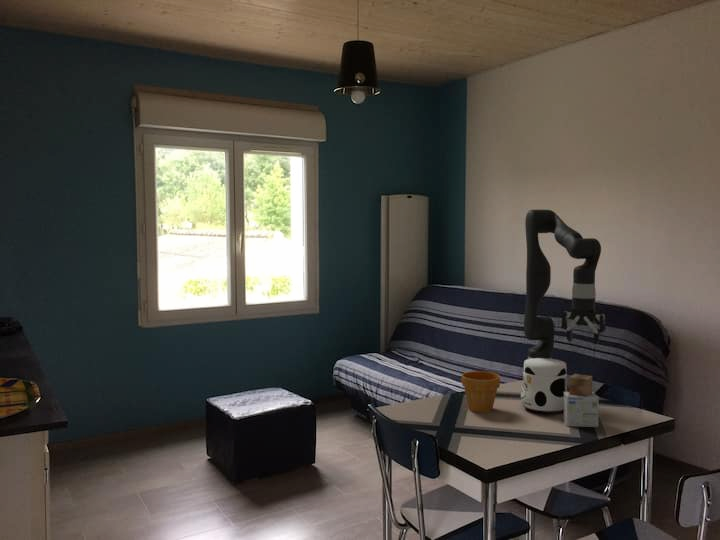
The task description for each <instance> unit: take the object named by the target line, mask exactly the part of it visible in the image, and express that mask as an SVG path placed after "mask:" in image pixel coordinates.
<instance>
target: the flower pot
mask: <svg viewBox="0 0 720 540" xmlns="http://www.w3.org/2000/svg"><path fill="white" fill-rule="evenodd" d="M461 385H462V387H463V388H464V392H465V399H466V402H467V407H468V410H469V411H472V412H475V413H489V412H492V411H493V409H494V405H495V400H496V396H497V392H498V391H497V390H498V389H500V385H501V376H500V374H497V373H495V372H490V371H481V370H480V371H478V370H476V371H474V370H473V371H467V372H464V373H462V374H461Z"/></svg>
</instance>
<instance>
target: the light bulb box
mask: <svg viewBox="0 0 720 540" xmlns="http://www.w3.org/2000/svg"><path fill="white" fill-rule="evenodd" d="M599 399H600V398H599V396H598V395H597V394H596V393H595V392H594V391H592V393H591V394H590V395H589V396H588V397H584V396H577V395H571V394H569V391H568V392H564V411H563V422H564V423H565V425H566V427H579V428H581V427H583V428H584V427H585V428H599V409H600V408H599Z"/></svg>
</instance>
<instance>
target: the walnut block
mask: <svg viewBox="0 0 720 540" xmlns="http://www.w3.org/2000/svg"><path fill="white" fill-rule="evenodd" d="M568 379H569V381H568V382H569V384H568V385H569V389H568V392H569V394H571V395H577V396H584V397H588V396H589V395H590V394H591V393H592V392H593V375H586V374H579V373H574V374H572V375H570V376H569V378H568Z"/></svg>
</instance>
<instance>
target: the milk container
mask: <svg viewBox="0 0 720 540" xmlns="http://www.w3.org/2000/svg"><path fill="white" fill-rule="evenodd" d="M567 369H568V368H567V362H565V361H562V360H560V359H555V358H552V359H547V358H533V359H528V358H527V359H525V360H524V361H523V372H522V373H523V377H522V378H523V380H522V381H523V383H522V387H521V390H520V391H521V392H520V400H521V401H520V402H521V405H522V406H523V407H524V408H525V409H527V410H529V411H531V412H537V413H540V414H541V413H543V414H554V413H555V414H557V413H561V412H564V392H569V390H568V389H567V388H568V387H567V381H568V380H567V378H568V377H567V376H568V375H567V371H568V370H567Z"/></svg>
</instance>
